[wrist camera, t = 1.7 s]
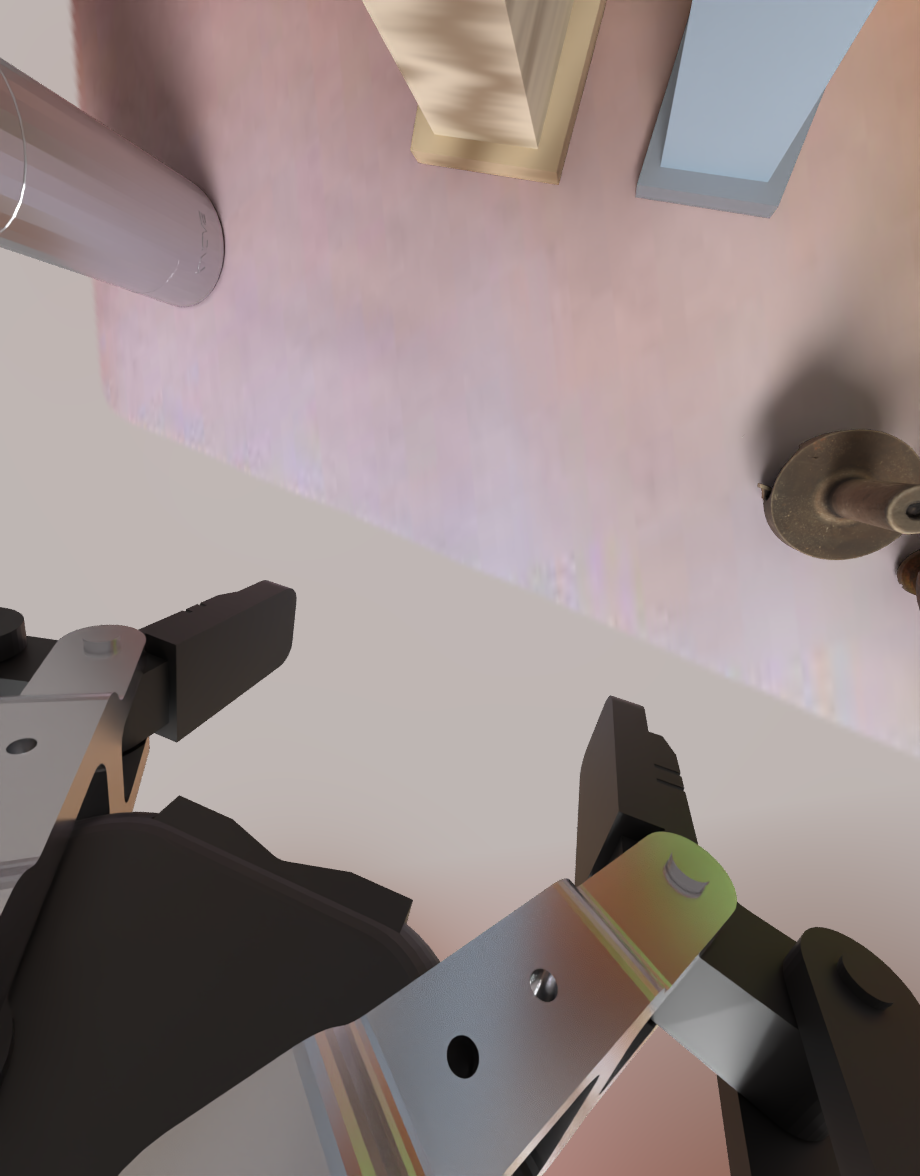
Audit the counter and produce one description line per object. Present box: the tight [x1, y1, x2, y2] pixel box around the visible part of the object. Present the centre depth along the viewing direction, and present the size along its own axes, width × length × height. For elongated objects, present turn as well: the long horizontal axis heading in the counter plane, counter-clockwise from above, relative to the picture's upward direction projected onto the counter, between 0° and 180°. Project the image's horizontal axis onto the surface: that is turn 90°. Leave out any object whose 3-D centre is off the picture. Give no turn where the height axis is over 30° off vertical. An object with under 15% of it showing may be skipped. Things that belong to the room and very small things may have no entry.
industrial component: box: [742, 429, 920, 560], centre depth 26 cm, size 9×7×12 cm
